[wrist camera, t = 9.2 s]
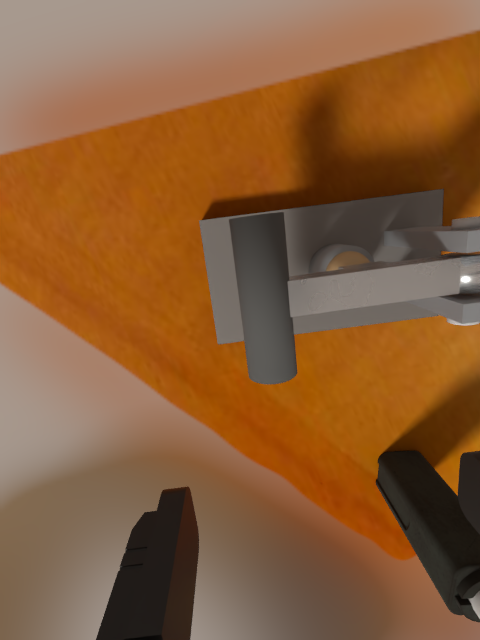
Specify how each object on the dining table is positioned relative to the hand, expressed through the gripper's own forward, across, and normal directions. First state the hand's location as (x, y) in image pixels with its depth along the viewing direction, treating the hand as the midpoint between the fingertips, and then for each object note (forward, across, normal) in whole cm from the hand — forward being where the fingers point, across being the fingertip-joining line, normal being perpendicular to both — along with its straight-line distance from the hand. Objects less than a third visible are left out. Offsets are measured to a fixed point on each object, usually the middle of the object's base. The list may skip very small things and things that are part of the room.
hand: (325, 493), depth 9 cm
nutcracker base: (+22, -6, -3) cm, 24 cm away
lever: (+14, -6, -3) cm, 16 cm away
